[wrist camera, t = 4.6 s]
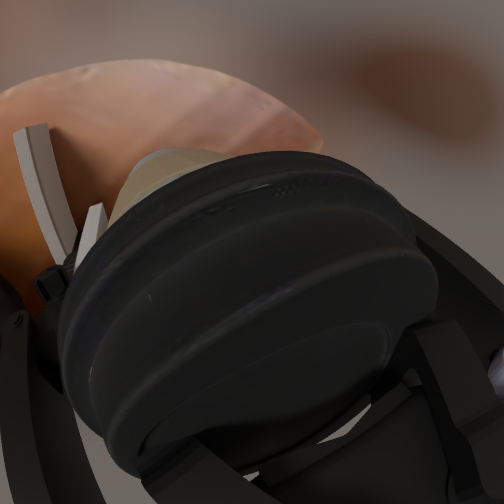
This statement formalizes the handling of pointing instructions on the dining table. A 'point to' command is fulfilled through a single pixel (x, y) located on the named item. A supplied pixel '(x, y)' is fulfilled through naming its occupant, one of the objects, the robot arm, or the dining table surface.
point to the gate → (46, 189)
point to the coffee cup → (239, 304)
